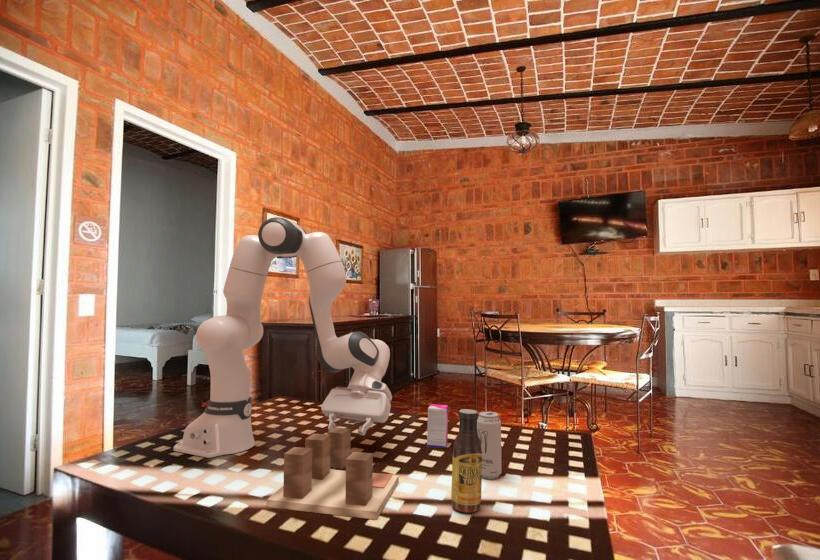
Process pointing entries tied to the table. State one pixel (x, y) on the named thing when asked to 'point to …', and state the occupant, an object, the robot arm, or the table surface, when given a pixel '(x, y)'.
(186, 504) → the table surface
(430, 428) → the supplement box
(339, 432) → the walnut peg
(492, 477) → the energy drink can
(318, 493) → the board
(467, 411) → the sauce bottle
